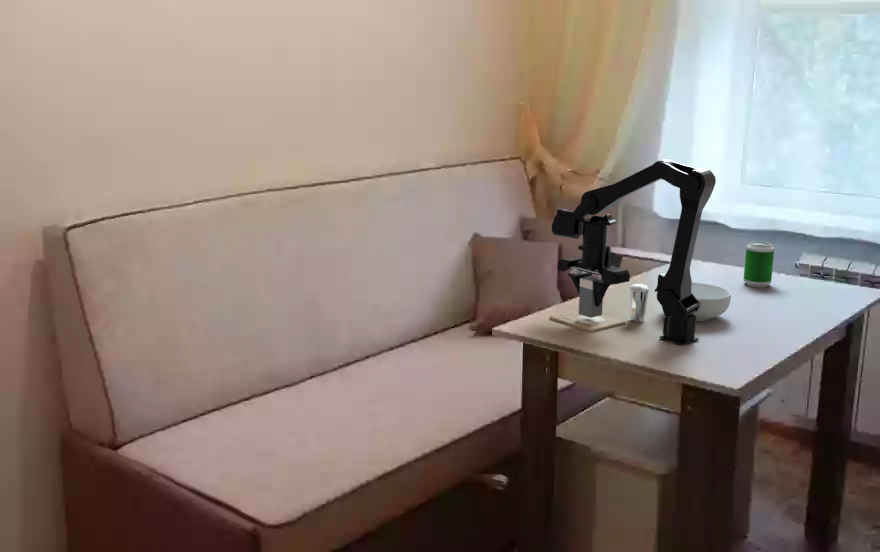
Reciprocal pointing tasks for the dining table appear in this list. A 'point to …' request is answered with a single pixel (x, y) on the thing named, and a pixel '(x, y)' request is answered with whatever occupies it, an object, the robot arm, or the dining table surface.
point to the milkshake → (638, 302)
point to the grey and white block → (588, 298)
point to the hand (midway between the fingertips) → (590, 304)
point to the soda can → (758, 264)
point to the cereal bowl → (710, 300)
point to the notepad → (587, 321)
